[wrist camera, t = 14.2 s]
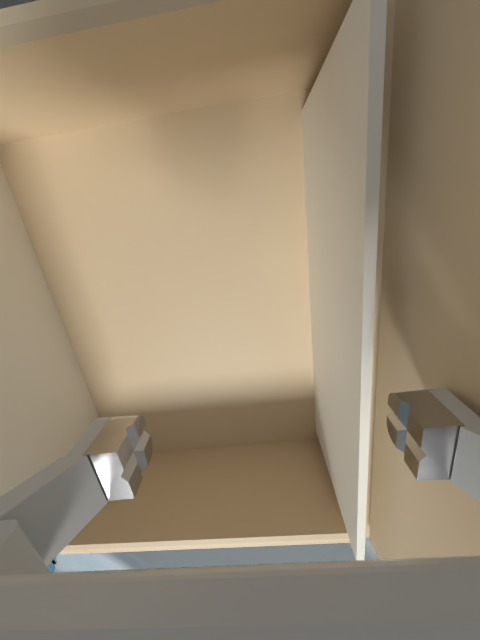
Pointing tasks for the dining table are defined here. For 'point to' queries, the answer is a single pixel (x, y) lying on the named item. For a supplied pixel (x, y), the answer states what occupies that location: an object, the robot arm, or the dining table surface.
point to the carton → (197, 258)
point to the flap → (429, 268)
